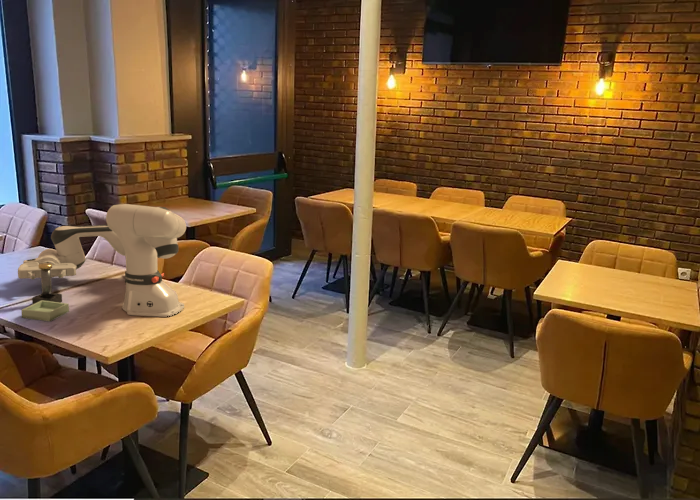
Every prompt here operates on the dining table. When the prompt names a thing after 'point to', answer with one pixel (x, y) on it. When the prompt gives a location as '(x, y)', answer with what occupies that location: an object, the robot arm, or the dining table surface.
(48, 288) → the lock pin
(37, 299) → the pin collar
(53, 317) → the tray
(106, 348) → the dining table surface
